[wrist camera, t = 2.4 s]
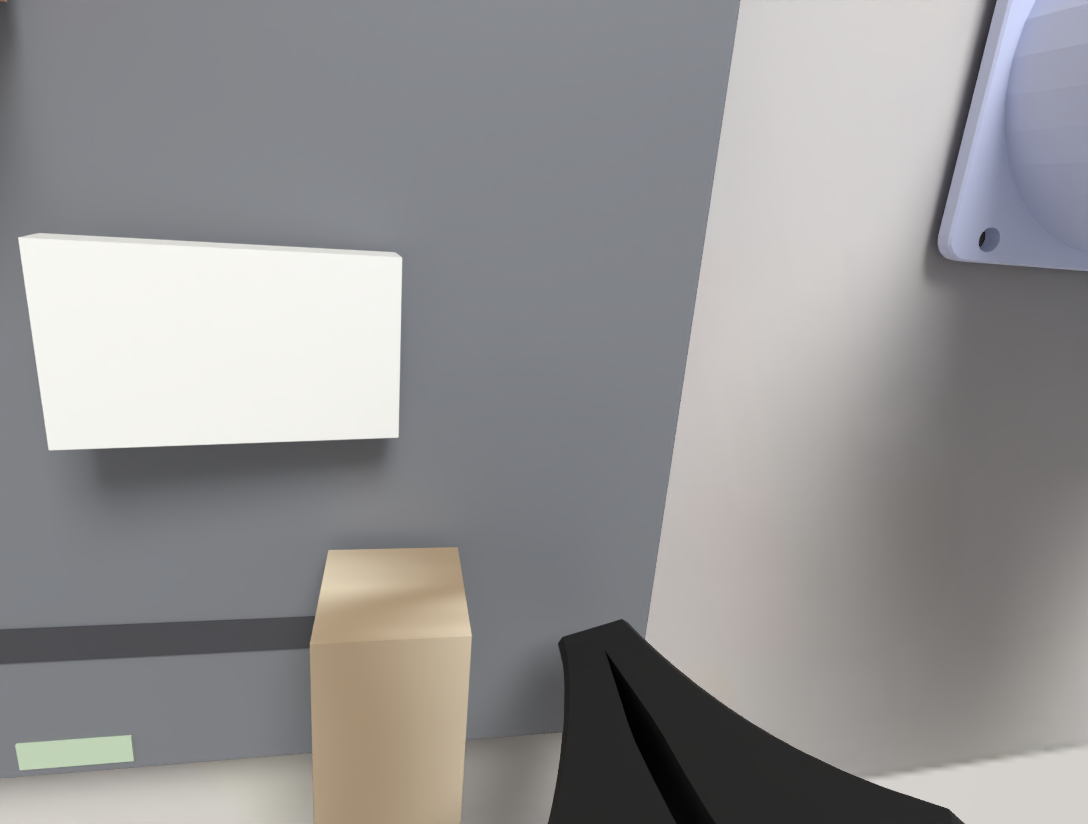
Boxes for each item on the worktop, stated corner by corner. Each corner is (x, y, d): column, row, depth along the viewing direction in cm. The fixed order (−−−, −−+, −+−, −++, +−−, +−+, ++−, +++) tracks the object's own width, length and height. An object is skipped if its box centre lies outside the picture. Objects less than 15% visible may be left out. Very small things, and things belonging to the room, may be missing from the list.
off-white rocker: (395, 252, 11) (402, 257, 11) (392, 422, 12) (398, 437, 12) (38, 233, 10) (18, 238, 9) (65, 431, 11) (48, 450, 10)
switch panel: (739, -244, 12) (799, -320, 10) (613, 682, 17) (637, 739, 16) (-470, -534, 8) (-706, -730, 7) (-135, 733, 14) (-213, 813, 12)
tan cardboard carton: (457, 547, 13) (471, 636, 11) (449, 716, 14) (460, 833, 12) (328, 550, 13) (309, 644, 10) (330, 725, 14) (314, 849, 11)
